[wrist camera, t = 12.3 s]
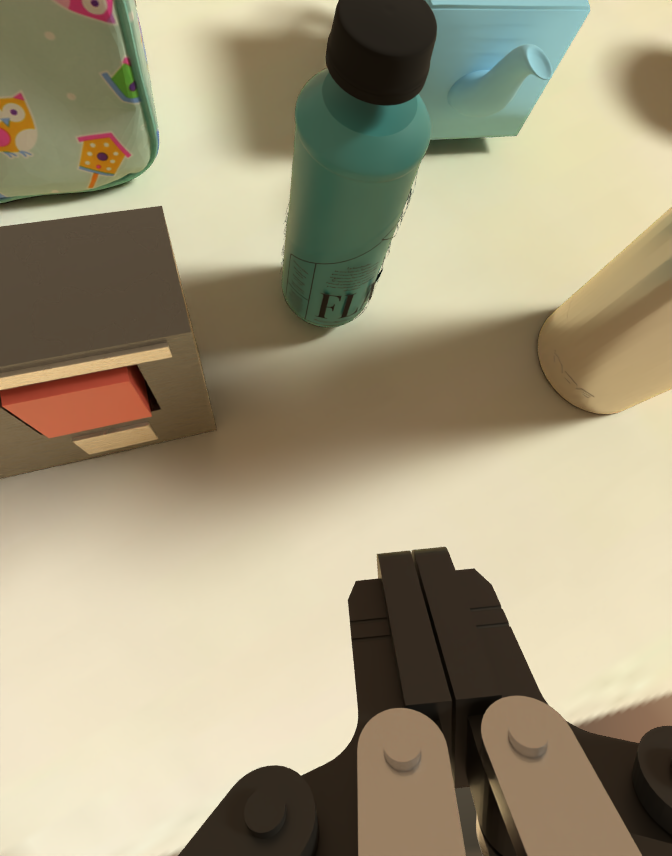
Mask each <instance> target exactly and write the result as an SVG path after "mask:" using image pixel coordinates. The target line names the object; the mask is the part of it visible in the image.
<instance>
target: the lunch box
mask: <svg viewBox="0 0 672 856" xmlns="http://www.w3.org/2000/svg"><path fill="white" fill-rule="evenodd" d="M158 149H159V131H158V124H157V117H156V111H155V105H154V100H153V94H152V88H151V80H150V74H149V69H148V63H147V58H146V52H145V47H144V41H143V36H142V31H141V27H140V22H139V18H138V14H137V10H136V1H135V0H0V203H5V202H9V201H12V200H16V199H21V198H27V197H32V196H41V195H49V194H63V193H76V192H88V191H95V190H100V189H105V188H108V187H112V186H116V185H119V184H122V183H125V182H128V181H130V180H132V179H134V178H136V177H138V176H139V175H141V174H142V173H144V172H145V171H146V170H147V169H148V168H149V167H150V166H151V164H152V163H153V161H154V160H155V158H156V156H157V153H158Z"/></svg>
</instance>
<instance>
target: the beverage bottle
mask: <svg viewBox="0 0 672 856" xmlns="http://www.w3.org/2000/svg"><path fill="white" fill-rule="evenodd" d="M436 37H437V22H436V18H435V15H434V13H433V11H432V9H431V8H430V6H429V5H428V4H427V2H426V1H425V0H339V2H338V4H337V7H336V11H335V16H334V20H333V25H332V30H331V33H330V35H329V39H328V43H327V51H326V64H327V68H326V69H324V70H323V71H321V72H319V73H318V74H316V75H315V76H313V77H312V78H311V79H310V80H309V81H308V82H307V83H306V84H305V86H304V87H303V88H302V90H301V92H300V94H299V96H298V99H297V102H296V108H295V123H296V127H295V140H294V152H293V164H292V177H291V189H290V201H289V204H288V205H289V212H288V213H287V215H288V216H286V217H288V219H287V218H286V219H287V220H285V222H286V221H287V222H286V223H287V224H286V225H287V227H285V228H286V233H284V235H285V234H286V235H285V236H286V238H285V243H284V244H285V245H284V246H285V248H283V249H285V250H283V249H282V250H283V251H284V252H283V253H284V259H283V265H282V266H283V272H282V290H283V294H284V297H285V300H286V301H287V302H286V303H287V304H288V305H289V307H290V308H291V309H292V310H293V312H294V313H295V314H296V315H297V316H299V317H300V318H301V319H303V320H304V321H306V322H308V323H310V324H313V325H316V326H321V327H337V326H341V325H344V324H346V323H348V322H350V321H352V320H354V318H355V317H356V316H357V315H358V314H359V313H361V311H363V310H364V309H365V308H367V307H365V305H366V303H367V301H368V302H370V301H369V300H371V297H372V292H373V291H374V290H375V289H374V285H375V284H376V281H377V280H378V279H379V277H380V275H381V272H382V270H383V269H382V268H381V265H382V266H383V264H382V263H383V262H384V261H383V260H384V259H385V255H386V252H387V250H388V248H389V245H391V244H390V242H391V240H392V238H393V234H394V232H395V229H396V227H398V222H399V221H400V220H399V219H400V217H401V216H403V209H404V206H405V204H406V201H407V200H410V199H407V198H410V196H409V195H411V194H409V193H411V190H412V189H411V187H412V184H413V181H414V178H415V176H416V173H417V170H418V168H419V165H420V162H421V160H422V159H423V157H424V155H425V154H426V151H427V149H428V146H429V143H430V138H431V121H430V117H429V113H428V111H427V108H426V106H425V104H424V102H423V100H422V99H421V97H420V95H419V93H420V91H421V90H422V88H423V87H424V84H425V82H426V79H427V76H428V73H429V69H430V61H431V57H432V53H433V49H434V45H435V41H436ZM416 178H417V176H416ZM415 183H416V182H415ZM413 191H414V190H413ZM409 202H410V201H409ZM407 205H408V202H407ZM407 207H408V206H407ZM287 208H288V207H287ZM406 209H407V208H406ZM404 214H405V213H404ZM402 219H403V218H402ZM401 221H402V220H401ZM400 223H401V222H400ZM284 231H285V230H284ZM390 247H391V246H390ZM389 252H390V250H389V251H388V253H389ZM281 256H282V255H281ZM281 263H282V262H281ZM380 268H381V269H382V270H381V272H380V273H379V270H380ZM280 272H281V271H280ZM378 273H379V274H378ZM377 282H378V281H377ZM373 289H374V290H373ZM368 299H369V300H368ZM368 304H369V303H368ZM364 307H365V308H364ZM363 312H364V311H363ZM363 312H362V313H363ZM362 313H361V314H362ZM361 314H360V315H361ZM356 318H357V317H356Z"/></svg>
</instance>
